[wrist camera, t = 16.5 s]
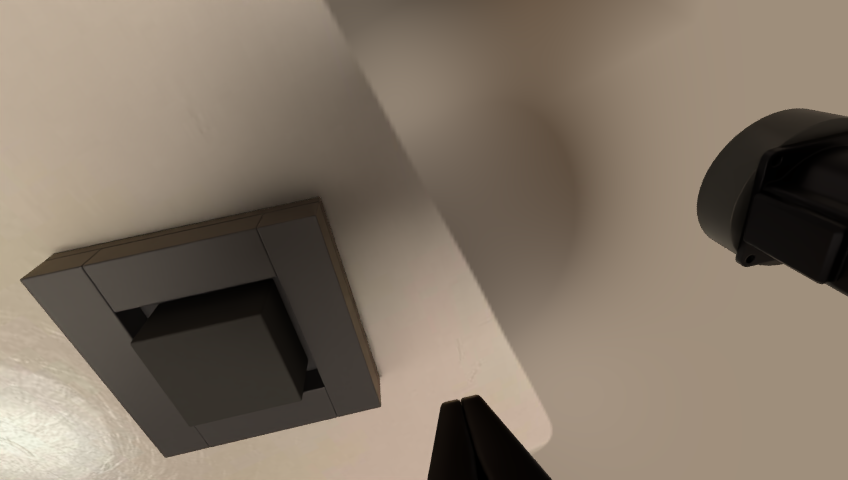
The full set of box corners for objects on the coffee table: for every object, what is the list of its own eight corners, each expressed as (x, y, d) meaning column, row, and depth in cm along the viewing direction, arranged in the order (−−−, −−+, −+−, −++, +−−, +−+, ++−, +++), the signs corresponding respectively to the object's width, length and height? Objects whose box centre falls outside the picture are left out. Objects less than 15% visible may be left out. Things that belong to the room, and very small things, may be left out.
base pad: (320, 196, 19) (315, 214, 17) (379, 378, 24) (381, 407, 23) (53, 254, 18) (18, 279, 16) (179, 425, 24) (164, 458, 22)
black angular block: (273, 278, 20) (260, 314, 17) (308, 360, 22) (302, 401, 20) (157, 303, 19) (128, 344, 17) (208, 383, 22) (189, 428, 20)
